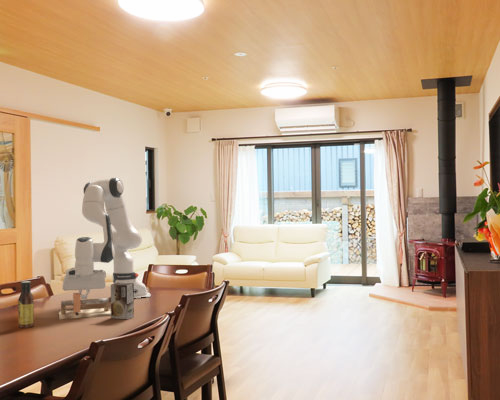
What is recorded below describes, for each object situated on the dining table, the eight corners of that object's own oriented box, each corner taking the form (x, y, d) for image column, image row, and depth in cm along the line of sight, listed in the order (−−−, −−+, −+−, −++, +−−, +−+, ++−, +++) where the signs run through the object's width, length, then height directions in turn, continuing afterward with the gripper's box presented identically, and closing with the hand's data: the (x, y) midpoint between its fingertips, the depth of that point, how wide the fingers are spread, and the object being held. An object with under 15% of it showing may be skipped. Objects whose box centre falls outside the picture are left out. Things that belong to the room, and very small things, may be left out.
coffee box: (134, 316, 254) (134, 283, 254) (127, 319, 248) (127, 284, 248) (117, 315, 257) (117, 282, 257) (110, 318, 251) (110, 284, 251)
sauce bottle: (21, 325, 237) (21, 280, 237) (35, 324, 237) (35, 280, 237) (16, 328, 230) (16, 282, 230) (30, 328, 231) (31, 282, 231)
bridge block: (79, 309, 263) (79, 292, 263) (80, 312, 255) (80, 295, 255) (73, 309, 262) (73, 293, 262) (74, 312, 254) (74, 295, 254)
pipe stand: (108, 309, 271) (108, 295, 271) (112, 315, 258) (112, 299, 258) (58, 313, 262) (58, 298, 262) (59, 319, 249) (59, 303, 249)
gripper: (105, 268, 269) (105, 296, 269) (62, 270, 262) (62, 298, 262) (106, 270, 263) (106, 298, 263) (62, 272, 256) (62, 301, 256)
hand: (84, 298), depth 262 cm, fingers closed
